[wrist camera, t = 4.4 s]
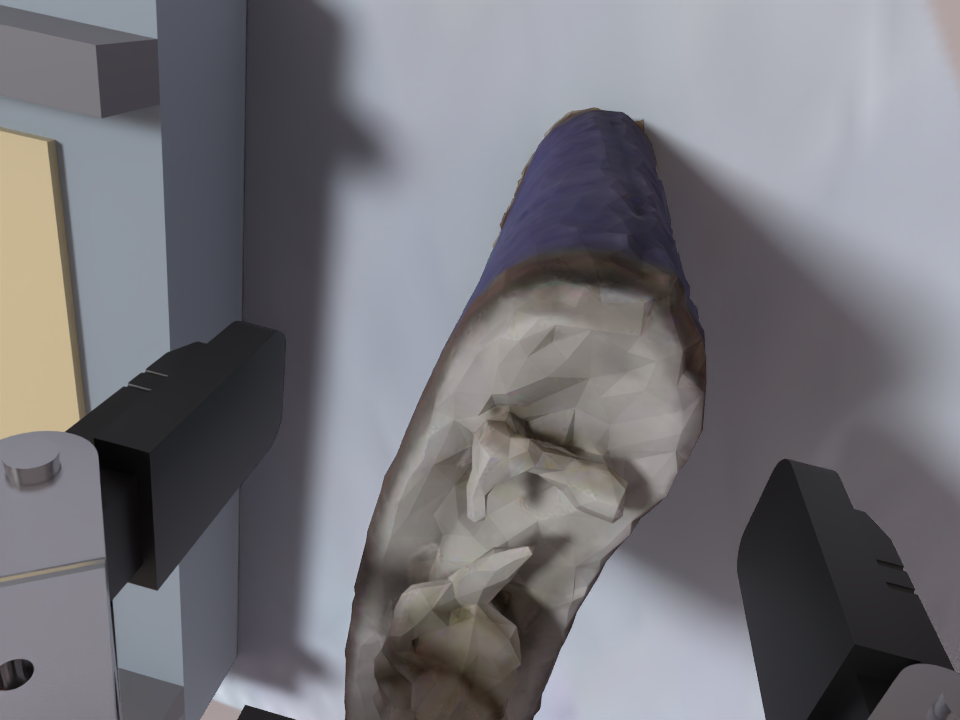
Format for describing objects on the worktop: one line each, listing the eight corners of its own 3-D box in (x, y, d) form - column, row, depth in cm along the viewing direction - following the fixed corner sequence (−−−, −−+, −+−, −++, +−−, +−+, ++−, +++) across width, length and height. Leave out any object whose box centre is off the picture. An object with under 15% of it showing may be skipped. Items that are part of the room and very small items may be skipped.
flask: (551, 497, 18) (465, 1062, 8) (438, 463, 18) (228, 979, 8) (685, 122, 13) (823, 422, 4) (533, 81, 13) (312, 275, 4)
